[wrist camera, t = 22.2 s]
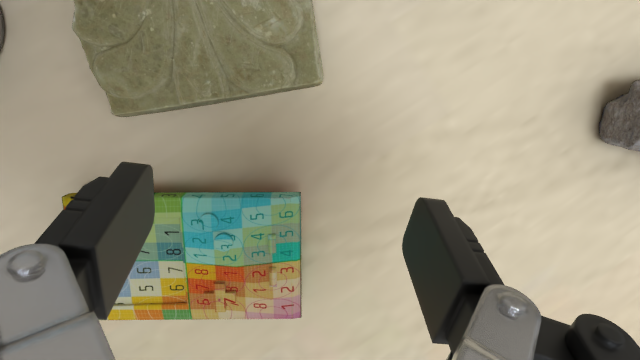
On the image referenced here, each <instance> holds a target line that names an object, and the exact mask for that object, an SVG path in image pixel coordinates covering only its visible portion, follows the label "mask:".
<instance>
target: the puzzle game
mask: <svg viewBox="0 0 640 360" xmlns="http://www.w3.org/2000/svg"><path fill="white" fill-rule="evenodd" d="M76 194H77V193H70V194H67V195H65V196H63V197H62V202H63V209H64V210H65V207H66V206H67V205H68V203H69V202H70V201H71V200H73V199H74V196H75V195H76ZM154 202H155V216H154V222H153V225H152V228H151V231H150V233H149V235H148V237H147V239H146V241H145V243H144V245H143V247H142V249H141V251H140V253H139V255H138V257H137V259H136V261H135V263H134V265H133V267H132V269H131V271H130V273H129V275H128V277H127V279H126V281H125V283H124V285H123V287H122V290H121V292H120V294H119V296H118V298H117V300H116V302H115V304H114V306H113V308H112V310H111V312H110V314H109V316H108V318H107V320H159V319H293V318H300V317H301V192H183V193H154ZM98 320H99V319H98Z"/></svg>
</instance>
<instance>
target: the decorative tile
mask: <svg viewBox="0 0 640 360" xmlns="http://www.w3.org/2000/svg"><path fill="white" fill-rule="evenodd" d="M74 3H75V12H74V17H73V25H72V29H73V31H74V32H75V33H76V34H77V36H78V37H79V39H80V41H81V43H82V47H83V49H84V51H85V53H86V57H87V60H88V63H89V66H90V69H91V71H92V73H93V74H94V76H95V77H96V79H97V81H98V83H99V85H100V86H101V87H102V89H103V90H104V91H105V92H106V94H107V97H108V100H109V103H110V106H111V112H112V114H114V115H116V116H119V117H129V116H137V115H143V114H151V113H158V112H164V111H171V110H178V109H185V108H191V107H198V106H204V105H210V104H216V103H221V102H227V101H233V100H239V99H245V98H251V97H257V96H263V95H269V94H274V93H280V92H286V91H291V90H297V89H303V88H309V87H314V86H318V85H320V84H322V81H323V70H322V64H321V57H320V51H319V45H318V38H317V32H316V25H315V19H314V12H313V6H312V0H74Z"/></svg>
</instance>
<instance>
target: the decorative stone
mask: <svg viewBox="0 0 640 360" xmlns="http://www.w3.org/2000/svg"><path fill="white" fill-rule="evenodd" d="M599 133H600V137H601V139H602V140H604V141H605V142H606V143H608V144H611V145H615V146H620V147H624V148H627V149H630V150H636V151H640V80H638V81H635V82H634V83H632V85H631V87H630V91H629V93H627V94H625V95H621V96H620V97H618V98H616V99H615V100H613V101H611V102H609V103H608V104H606V106H605V107H604V110H603V114H602V120H601V121H600V127H599Z"/></svg>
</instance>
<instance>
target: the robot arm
mask: <svg viewBox="0 0 640 360" xmlns="http://www.w3.org/2000/svg"><path fill="white" fill-rule="evenodd" d="M3 39H4V21H3V16H2V12H1V9H0V50H1V47H2V44H3ZM154 216H155V202H154V184H153V170H152V167H151V165H146V164H138V163H129V162H122V163H120V164H119V166H118V167H117V168H116V170H115V171H114V172H113V174H112V175H111V176H110V177H109V178H108V177H98V178H97V179H95V180H93V181H91V182H89V183H88V184H86V185H84V186H83V187H82V188H81V189H80V191H79V192H78V193H77V194H76V195H75V196H74V199H73V200H71V201H70V202H69V203H68V205H67V206H66V207H65V210H63V211H62V212H61V213H60V214H59V215H58V216H57V218H56V219H55V220H54V221H53V222H52V223H51V225H50V226H49V227H48V228H47V229H46V231H45V232H44V233H43V234H42V235H41V236H40V238H39V239H38V240H37V241H36V242H35V243H34V244H30V245H25V246H20V247H17V248H14V249H12V250H9V251H7V252H5V253H3V254H2V255H0V360H115V357H114V355H113V353H112V350H111V348H110V346H109V343H108V341H107V339H106V336H105V334H104V332H103V330H102V327H101V325H100V323H99V320H107V318H108V316H109V314H110V312H111V310H112V308H113V306H114V304H115V302H116V300H117V298H118V296H119V294H120V292H121V290H122V287H123V285H124V283H125V281H126V279H127V277H128V275H129V273H130V271H131V269H132V267H133V265H134V263H135V261H136V259H137V257H138V255H139V253H140V251H141V249H142V247H143V245H144V243H145V241H146V239H147V237H148V235H149V233H150V231H151V228H152V225H153V222H154ZM402 250H403V256H404V259H405V262H406V265H407V268H408V271H409V274H410V277H411V280H412V283H413V286H414V289H415V292H416V295H417V298H418V301H419V304H420V307H421V310H422V313H423V316H424V319H425V322H426V325H427V328H428V331H429V334H430V337H431V340H432V343H437V344H449V347H450V350H451V352H450V354H449V355H448V357H447V359H446V360H640V348H639V346H638V345H637V344H636V342H635V341H634V340H633V339H632V338H631V337H630V336H629V335H628V334H627V333H626V332H625V331H624V330H623V329H621V328H620V327H619V326H617V325H616V324H614V323H612V322H611V321H609V320H607V319H605V318H602V317H600V316H597V315H592V314H582V315H579V316H578V317H577V318H576V320H575V321H574V322H573V324H572V325H571V326H570V325H567V324H564V323H561V322H558V321H555V320H552V319H549V318H546V317H543V316H541V314H540V312H539V310H538V308H537V307H536V305H535V304H534V303H533V302H532V301H531V300H530V299H529V298H528V297H527V296H525V295H524V294H523V293H521V292H519V291H518V290H516V289H514V288H511V287H508V286H505V285H504V283H503V282H502V280H501V278H500V277H499V275H498V273H497V272H496V270H495V268H494V267H493V265H492V263H491V262H490V260H489V258H488V257H487V255H486V253H484V250H483V248H482V246H481V245H480V243H478V240H477V238H476V236H475V235H474V233H473V231H472V230H471V228H470V227H469V226H467V225H466V224H465V223H464V222H463V221H462V220H461V219H460V218H458V217H454V216H453V214H452V213H451V211H450V209H449V207H448V205H447V204H446V202H445V201H444V200H438V199H430V198H419V199H418V200H417V201H416V203H415V206H414V209H413V212H412V214H411V217H410V220H409V223H408V225H407V228H406V231H405V234H404V237H403V244H402ZM98 319H99V320H98Z"/></svg>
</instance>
